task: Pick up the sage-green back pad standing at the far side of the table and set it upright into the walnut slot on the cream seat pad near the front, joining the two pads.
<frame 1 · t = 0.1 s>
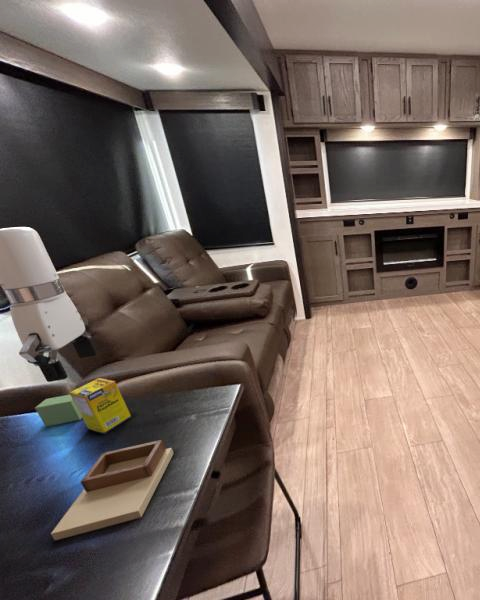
hand: (74, 367, 68), 17 cm above the table, tool pointing down, fingers open, 9 cm apart
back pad: (68, 419, 79), on the table
supplement box: (111, 425, 76), on the table
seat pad: (123, 492, 58), on the table
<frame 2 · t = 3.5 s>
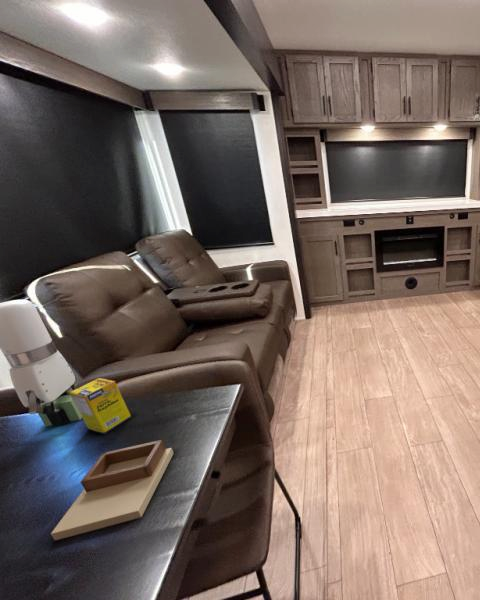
hand: (67, 417, 79), 1 cm above the table, tool pointing down, fingers closed on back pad, 3 cm apart
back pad: (68, 419, 79), on the table, touching gripper
everything else where it was.
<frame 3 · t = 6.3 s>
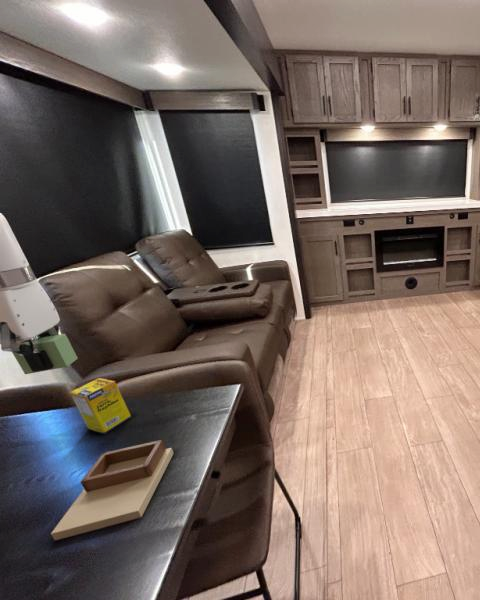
hand: (50, 363, 65), 20 cm above the table, tool pointing down, fingers closed on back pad, 3 cm apart
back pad: (52, 366, 66), point 19 cm above the table, touching gripper
everything else where it was.
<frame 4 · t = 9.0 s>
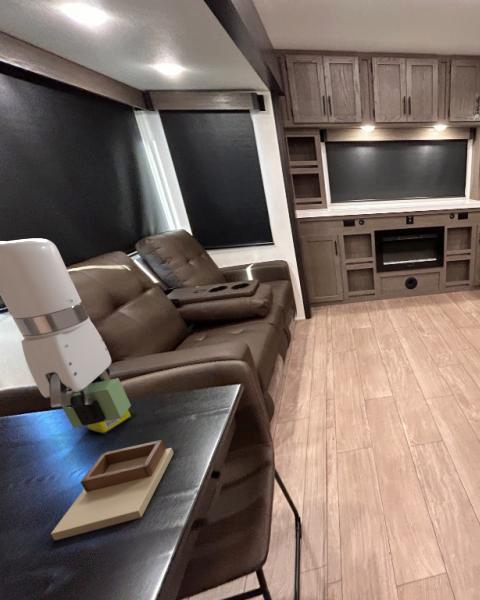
hand: (101, 413, 56), 15 cm above the table, tool pointing down, fingers closed on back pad, 3 cm apart
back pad: (103, 416, 56), point 14 cm above the table, touching gripper
everything else where it was.
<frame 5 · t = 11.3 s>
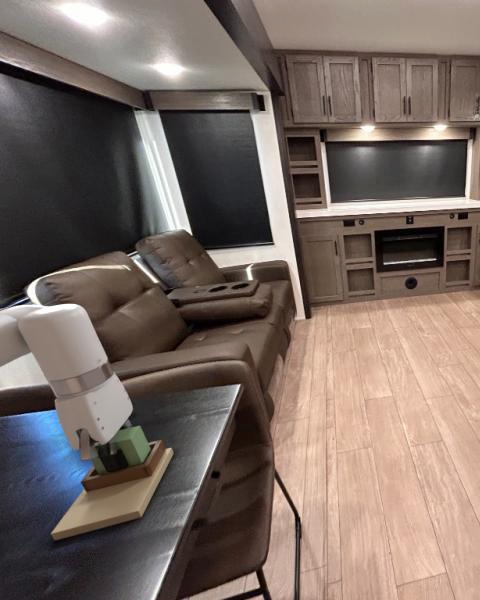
hand: (124, 459, 60), 5 cm above the table, tool pointing down, fingers closed on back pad, 3 cm apart
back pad: (125, 461, 60), point 4 cm above the table, touching gripper
everything else where it was.
when the fingers open (5 cm above the table, at t = 14.5 s): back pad drops 2 cm, resting on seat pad.
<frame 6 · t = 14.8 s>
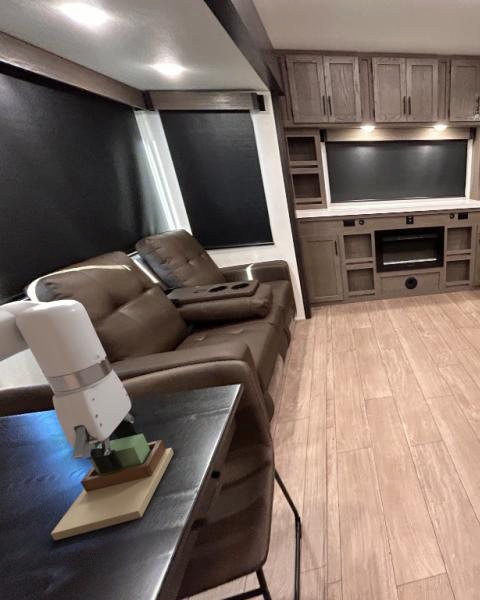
hand: (121, 455, 59), 6 cm above the table, tool pointing down, fingers open, 5 cm apart
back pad: (128, 469, 60), point 2 cm above the table, touching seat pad
everything else where it was.
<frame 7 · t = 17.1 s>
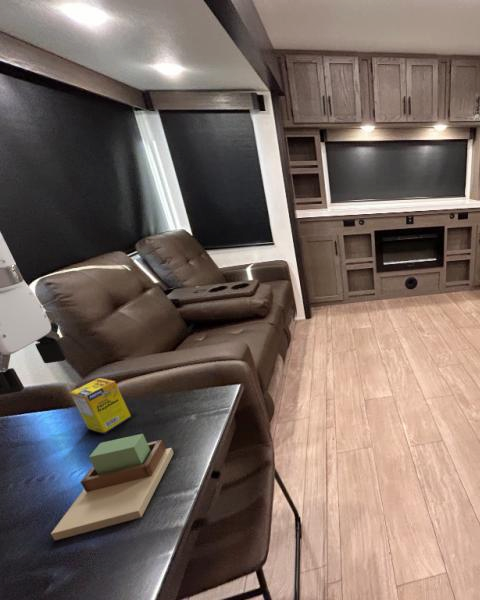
hand: (35, 375, 55), 23 cm above the table, tool pointing down, fingers open, 9 cm apart
nothing on the table moved.
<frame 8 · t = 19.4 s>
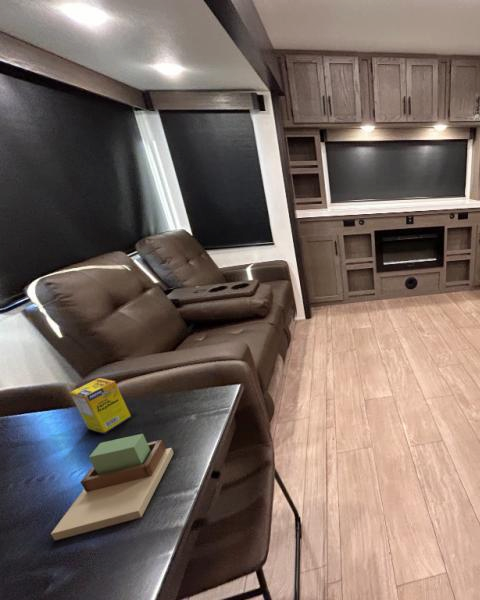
nothing on the table moved.
at the end: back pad 0.0 cm from the target spot on the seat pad, point 2.0 cm above the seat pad's base; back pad tilted 0°; the gripper is holding nothing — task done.
